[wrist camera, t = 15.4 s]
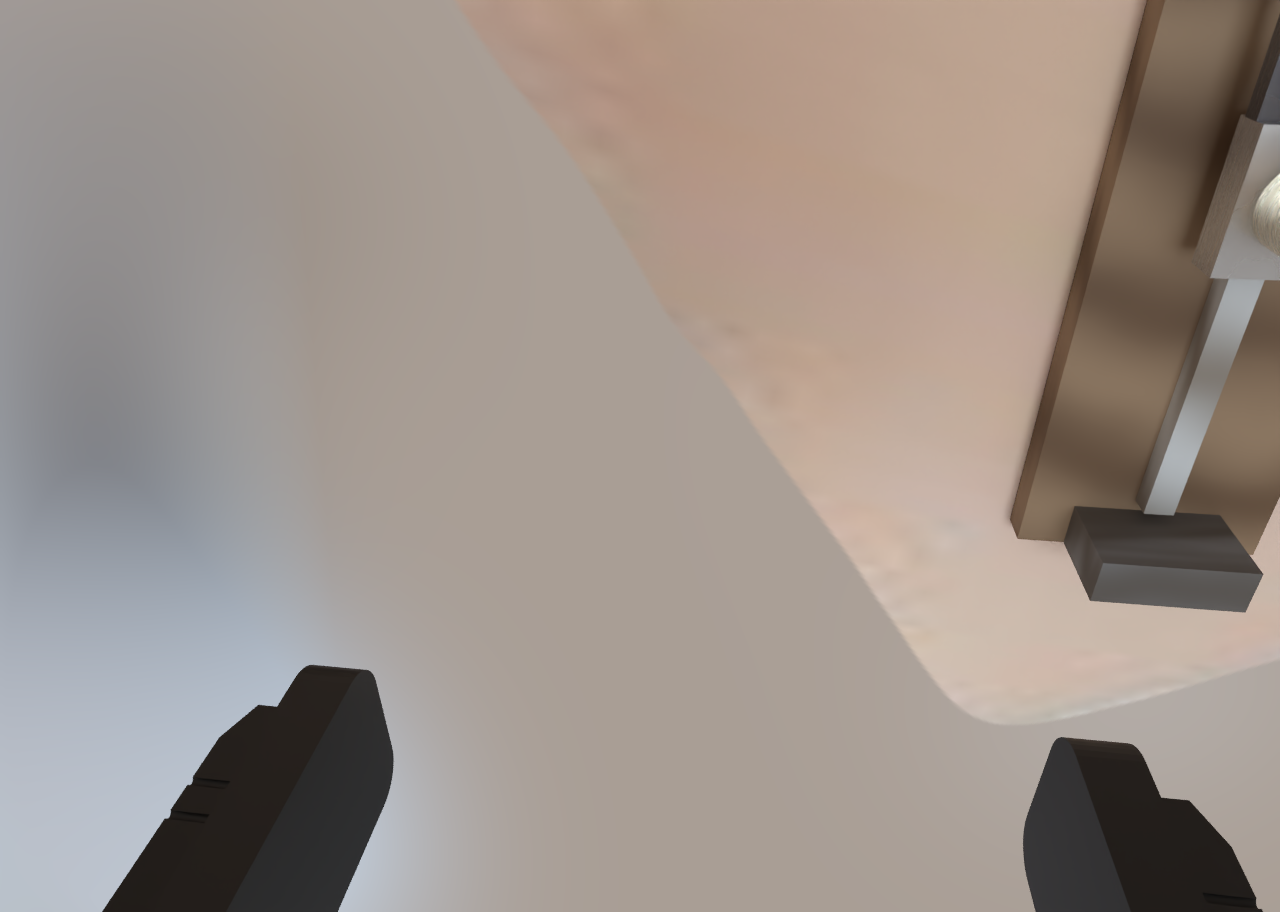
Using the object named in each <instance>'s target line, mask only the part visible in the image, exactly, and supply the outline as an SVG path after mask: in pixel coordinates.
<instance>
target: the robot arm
mask: <svg viewBox="0 0 1280 912" xmlns="http://www.w3.org/2000/svg"><path fill="white" fill-rule="evenodd" d="M392 773H393V750H392V745H391V741H390V737H389V733H388V729H387V725H386V721H385V717H384V713H383V709H382V704H381V700H380V697H379V692H378V688H377V684H376V680H375V677H374V675H373V674H372V673H371V672H370V671H368V670H361V669H350V668H340V667H329V666H318V665H309V666H306V667H305V668H303V669H302V670H301V671H300V672H299V673H298V675H297V676H296V678H295V679H294V681H293V682H292V684H291V685H290V687H289V689H288V690H287V692H286V693H285V695H284V697H283V698H282V700H281V702H280V703H279V705H278V706H277V707H273V706H264V705H258V706H257V707H255V709H253V710H252V711H251V712H249V713H248V714H247V715H246V716H245V717H243V718H242V719H241V720H240V721H239V722H237V723H236V724H235V725H234V726H233V727H231V728H230V729H229V730H228V731H227V732H225V733H224V734H223V735H222V736H221V737H219V739H218V740H217V742H216V744H215V745H214V746H213V748H212V749H211V751H210V752H209V754H208V755H207V757H206V758H205V760H204V761H203V763H202V764H201V766H200V767H199V769H198V770H197V772H196V773H195V775H194V776H193V782H192V784H191V785H187V786H186V788H185V790H184V791H183V792H182V794H181V795H180V797H179V798H178V800H177V801H176V803H175V804H174V806H173V807H172V809H171V815H170V817H169V818H168V819H164V821H163V822H162V824H161V825H160V827H159V828H158V830H157V831H156V833H155V834H154V836H153V837H152V838H151V840H150V842H149V843H148V844H147V846H146V847H145V849H144V850H143V852H142V853H141V855H140V856H139V858H138V859H137V861H136V862H135V864H134V865H133V867H132V868H131V870H130V872H129V873H128V874H127V876H126V877H125V879H124V880H123V882H122V883H121V885H120V886H119V888H118V889H117V890H116V892H115V894H114V895H113V897H112V898H111V899H110V901H109V902H108V904H107V906H106V907H105V909H104V910H103V911H102V912H338V910H339V907H340V905H341V903H342V900H343V898H344V896H345V893H346V891H347V889H348V887H349V884H350V882H351V880H352V878H353V875H354V873H355V871H356V869H357V866H358V864H359V862H360V859H361V857H362V855H363V853H364V850H365V848H366V846H367V843H368V841H369V839H370V837H371V834H372V832H373V829H374V827H375V825H376V823H377V821H378V818H379V816H380V814H381V811H382V809H383V807H384V804H385V802H386V799H387V796H388V793H389V789H390V785H391V780H392ZM1023 851H1024V863H1025V870H1026V876H1027V880H1028V884H1029V888H1030V891H1031V895H1032V899H1033V903H1034V907H1035V910H1036V912H1263V911H1262V909H1258V908H1257V906H1256V897H1255V895H1254V893H1253V891H1252V888H1251V887H1250V884H1249V882H1248V880H1247V878H1246V876H1245V874H1244V872H1243V870H1242V868H1241V866H1240V864H1239V862H1238V860H1237V857H1236V855H1235V853H1234V851H1233V849H1232V847H1231V846H1230V845H1229V844H1228V843H1227V841H1226V840H1225V839H1224V838H1223V837H1222V836H1221V835H1220V834H1219V833H1218V832H1217V831H1216V829H1215V828H1214V827H1213V826H1212V825H1211V824H1210V823H1209V822H1208V821H1207V820H1206V819H1205V817H1204V816H1203V815H1202V814H1201V813H1200V812H1199V811H1198V810H1197V809H1196V808H1195V806H1194V805H1193V804H1192V803H1191V802H1190V801H1188V800H1178V799H1168V798H1161V796H1160V794H1159V792H1158V789H1157V787H1156V785H1155V782H1154V780H1153V778H1152V776H1151V773H1150V771H1149V769H1148V766H1147V764H1146V762H1145V760H1144V758H1143V756H1142V754H1141V753H1140V751H1139V750H1138V749H1137V748H1136V747H1135V746H1134V745H1132V744H1128V743H1118V742H1107V741H1096V740H1086V739H1074V738H1064V737H1061V738H1058V739H1056V740H1055V742H1054V743H1053V746H1052V748H1051V750H1050V753H1049V756H1048V759H1047V762H1046V765H1045V767H1044V770H1043V773H1042V776H1041V778H1040V781H1039V784H1038V787H1037V790H1036V793H1035V795H1034V798H1033V801H1032V803H1031V806H1030V809H1029V812H1028V815H1027V818H1026V821H1025V827H1024V836H1023Z"/></svg>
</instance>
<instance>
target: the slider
mask: <svg viewBox="0 0 1280 912" xmlns="http://www.w3.org/2000/svg"><path fill="white" fill-rule="evenodd" d="M1191 262H1192V263H1193V264H1194V265H1195V266H1196V267H1197V268H1199V269H1200V270H1201V271H1202V272H1203V273H1205V274H1206V275H1207V276H1208V277H1209V278H1220V279H1250V280H1280V14H1279V17H1278V20H1277V23H1276V26H1275V29H1274V32H1273V35H1272V38H1271V41H1270V44H1269V47H1268V50H1267V53H1266V56H1265V59H1264V62H1263V65H1262V67H1261V70H1260V73H1259V76H1258V79H1257V82H1256V85H1255V88H1254V91H1253V94H1252V97H1251V100H1250V103H1249V106H1248V109H1247V112H1246V114H1241V116H1240V119H1239V122H1238V125H1237V128H1236V130H1235V133H1234V136H1233V139H1232V142H1231V145H1230V148H1229V151H1228V154H1227V157H1226V160H1225V163H1224V166H1223V169H1222V172H1221V175H1220V178H1219V181H1218V184H1217V187H1216V190H1215V193H1214V196H1213V199H1212V202H1211V205H1210V208H1209V211H1208V214H1207V217H1206V220H1205V223H1204V226H1203V229H1202V232H1201V235H1200V238H1199V241H1198V244H1197V247H1196V250H1195V253H1194V256H1193V258H1192V261H1191Z"/></svg>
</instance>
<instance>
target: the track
mask: <svg viewBox="0 0 1280 912" xmlns="http://www.w3.org/2000/svg"><path fill="white" fill-rule="evenodd" d="M1279 14H1280V0H1147V4H1146V8H1145V12H1144V15H1143V19H1142V23H1141V27H1140V31H1139V34H1138V38H1137V42H1136V46H1135V50H1134V53H1133V57H1132V61H1131V65H1130V68H1129V72H1128V76H1127V80H1126V84H1125V87H1124V91H1123V95H1122V99H1121V102H1120V106H1119V110H1118V114H1117V118H1116V121H1115V125H1114V129H1113V133H1112V137H1111V140H1110V144H1109V148H1108V152H1107V155H1106V159H1105V163H1104V167H1103V171H1102V174H1101V178H1100V182H1099V186H1098V189H1097V193H1096V197H1095V201H1094V205H1093V208H1092V212H1091V216H1090V220H1089V224H1088V227H1087V231H1086V235H1085V239H1084V242H1083V246H1082V250H1081V254H1080V258H1079V261H1078V265H1077V269H1076V273H1075V276H1074V280H1073V284H1072V288H1071V292H1070V295H1069V299H1068V303H1067V307H1066V310H1065V314H1064V318H1063V322H1062V326H1061V329H1060V333H1059V337H1058V341H1057V345H1056V348H1055V352H1054V356H1053V360H1052V363H1051V367H1050V371H1049V375H1048V379H1047V382H1046V386H1045V390H1044V394H1043V397H1042V401H1041V405H1040V409H1039V413H1038V416H1037V420H1036V424H1035V428H1034V432H1033V435H1032V439H1031V443H1030V447H1029V450H1028V454H1027V458H1026V462H1025V466H1024V469H1023V473H1022V477H1021V481H1020V484H1019V488H1018V492H1017V496H1016V500H1015V503H1014V507H1013V511H1012V515H1011V519H1010V520H1011V523H1012V525H1013V528H1014V531H1015V533H1016V536H1017V538H1018V539H1028V540H1042V541H1057V542H1064V544H1065V546H1066V548H1067V551H1068V553H1069V555H1070V557H1071V559H1072V562H1073V564H1074V566H1075V568H1076V570H1077V573H1078V575H1079V577H1080V579H1081V582H1082V584H1083V586H1084V588H1085V590H1086V593H1087V595H1088V597H1089V599H1090V601H1100V602H1113V603H1127V604H1140V605H1153V606H1166V607H1180V608H1193V609H1206V610H1219V611H1233V612H1246V610H1247V608H1248V606H1249V604H1250V601H1251V599H1252V597H1253V595H1254V593H1255V591H1256V589H1257V587H1258V585H1259V582H1260V580H1261V578H1262V576H1263V573H1262V572H1261V571H1260V569H1259V568H1258V566H1257V565H1256V564H1255V562H1254V561H1253V560H1252V558H1251V557H1250V555H1253V554H1254V551H1255V549H1256V547H1257V545H1258V543H1259V540H1260V538H1261V536H1262V534H1263V532H1264V530H1265V527H1266V525H1267V523H1268V521H1269V519H1270V517H1271V514H1272V512H1273V510H1274V508H1275V506H1276V504H1277V501H1278V499H1279V497H1280V280H1250V279H1220V278H1209V277H1208V276H1207V275H1206V274H1205V273H1203V272H1202V271H1201V270H1200V269H1199V268H1197V267H1196V266H1195V265H1194V264H1193V263H1192V262H1191V261H1192V258H1193V256H1194V253H1195V250H1196V247H1197V244H1198V241H1199V238H1200V235H1201V232H1202V229H1203V226H1204V223H1205V220H1206V217H1207V214H1208V211H1209V208H1210V205H1211V202H1212V199H1213V196H1214V193H1215V190H1216V187H1217V184H1218V181H1219V178H1220V175H1221V172H1222V169H1223V166H1224V163H1225V160H1226V157H1227V154H1228V151H1229V148H1230V145H1231V142H1232V139H1233V136H1234V133H1235V130H1236V128H1237V125H1238V122H1239V119H1240V116H1241V114H1246V112H1247V109H1248V106H1249V103H1250V100H1251V97H1252V94H1253V91H1254V88H1255V85H1256V82H1257V79H1258V76H1259V73H1260V70H1261V67H1262V65H1263V62H1264V59H1265V56H1266V53H1267V50H1268V47H1269V44H1270V41H1271V38H1272V35H1273V32H1274V29H1275V26H1276V23H1277V20H1278V17H1279Z"/></svg>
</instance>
